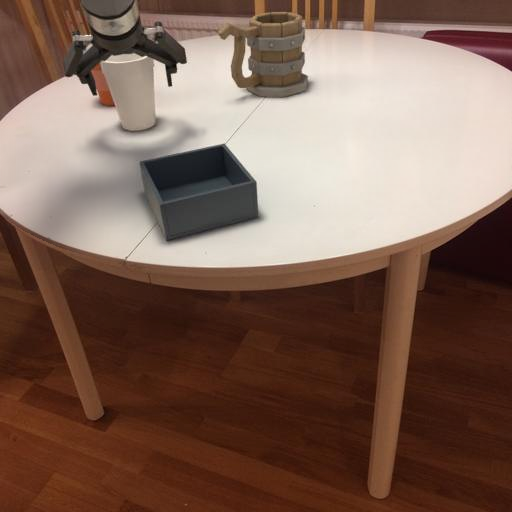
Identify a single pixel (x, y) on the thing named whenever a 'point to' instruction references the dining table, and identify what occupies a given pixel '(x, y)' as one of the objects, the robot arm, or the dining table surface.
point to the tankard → (269, 54)
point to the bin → (199, 190)
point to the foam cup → (131, 89)
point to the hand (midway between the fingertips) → (132, 84)
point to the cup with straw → (101, 84)
